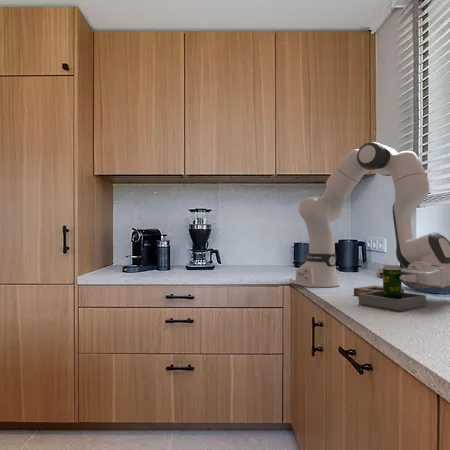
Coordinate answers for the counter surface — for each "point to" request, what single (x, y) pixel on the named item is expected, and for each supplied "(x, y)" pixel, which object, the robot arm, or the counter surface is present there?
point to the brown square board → (368, 289)
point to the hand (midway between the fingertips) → (389, 276)
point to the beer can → (392, 282)
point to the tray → (392, 301)
